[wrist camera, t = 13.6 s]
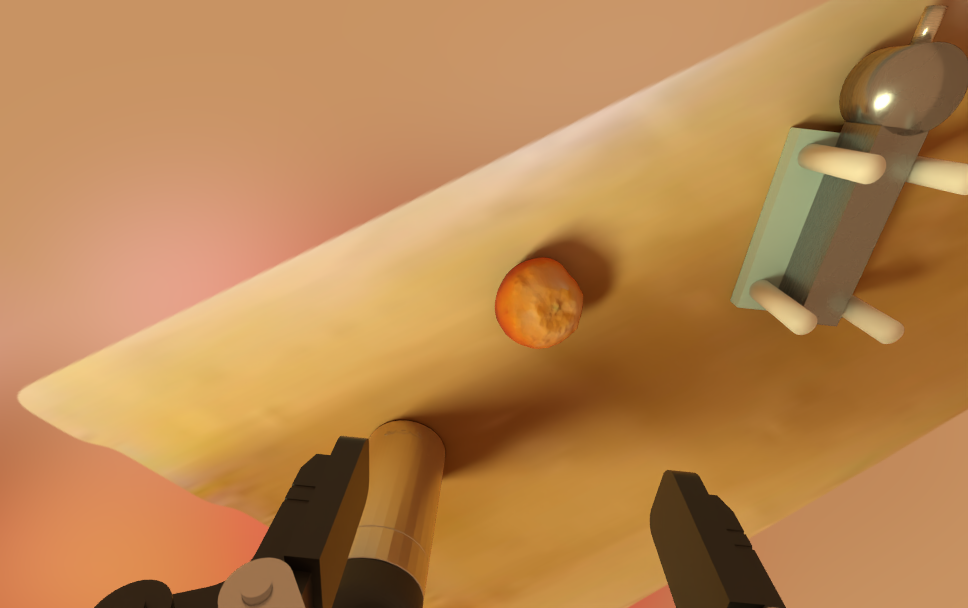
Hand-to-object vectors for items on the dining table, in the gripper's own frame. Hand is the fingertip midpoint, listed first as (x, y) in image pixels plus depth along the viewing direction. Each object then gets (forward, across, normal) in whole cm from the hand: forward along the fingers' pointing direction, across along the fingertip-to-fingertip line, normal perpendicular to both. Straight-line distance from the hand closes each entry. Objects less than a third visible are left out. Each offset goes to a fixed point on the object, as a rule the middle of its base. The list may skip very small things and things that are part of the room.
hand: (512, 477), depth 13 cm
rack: (+33, -28, -1) cm, 43 cm away
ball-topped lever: (+32, -28, -6) cm, 43 cm away
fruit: (+33, -4, +8) cm, 35 cm away
